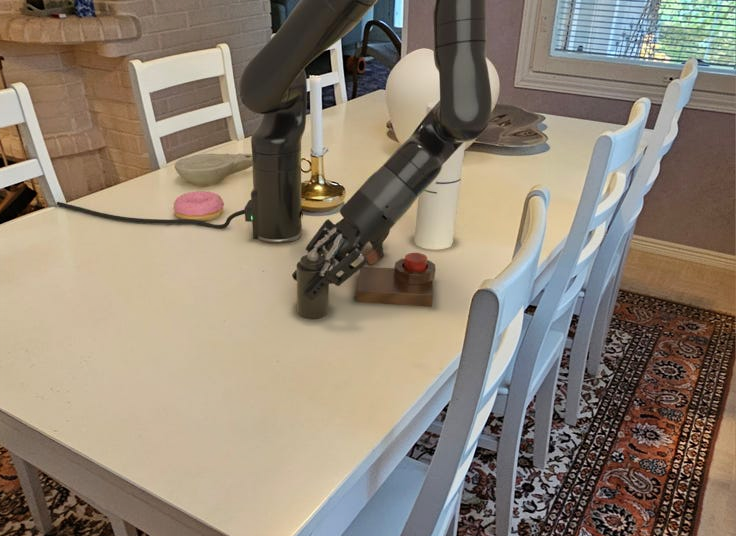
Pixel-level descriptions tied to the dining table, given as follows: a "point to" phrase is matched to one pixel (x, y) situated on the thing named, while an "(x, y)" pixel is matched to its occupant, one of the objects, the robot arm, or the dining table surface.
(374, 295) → the button box
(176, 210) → the doughnut
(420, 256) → the button
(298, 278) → the pepper mill
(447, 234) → the cylindrical container
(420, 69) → the vase
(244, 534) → the dining table surface
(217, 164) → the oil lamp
